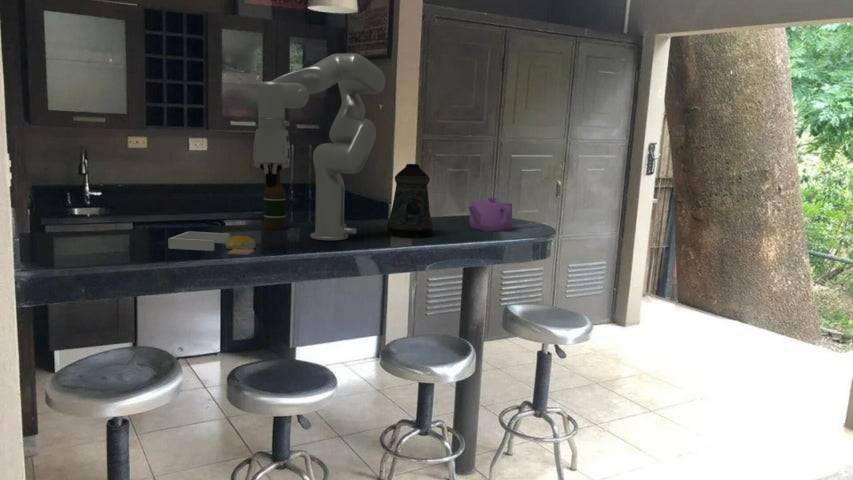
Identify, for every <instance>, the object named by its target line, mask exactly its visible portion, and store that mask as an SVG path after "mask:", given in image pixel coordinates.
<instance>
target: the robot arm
mask: <svg viewBox="0 0 853 480" xmlns="http://www.w3.org/2000/svg"><path fill="white" fill-rule="evenodd" d="M336 84H338V88H339V94H340V97H341V98H340V99H341V105H340V108H339V110H338V112H337V114H336V117H335V118H334V120H333V122H332V124H331V128H330V129H329V133H328V134H329V136H328V137H329V140H330V141H331V142H332V143H331V142H327V143H321V144H319V145H317V147H316V148H315V149H314V150H313V154H312V160H313V161H312V162H313V167H314V173H315V222H314V225H315V227H314V228H315V229H314V230H315V232H312V233H310V238H311V239H312V240H319V241H342V240H343V241H344V240H347V239H349V234H350V235H356V234H357V230H358V229H357V228H354V227H348V226H347V224H346V223H345V189H346V187H345V182H344V180H343V177H342V175H341V174H348V175H353V174H354V175H355V174H357V173H359V172H360V171H361V170H362V169H363V168H364V165H365V164H366V162H367V160H368V157H369V155H370V153H371V151H372V148H373V146H374V144H375V141H376V137H377V133H376V132H377V130H376V125H375V124H374V123H373V121H372V120H370V119H369V118H366V117H365V114H366V107H365V105H364V102H363V100H362V98H361V96H360V95H377V94H380V93H381V92H383V90H384V89H385V87H386V86H385V85H386V77H385V73H384V72H383V70H381V69H380V68H379V67H378V66H376V65H375V63H373V62H371V61H370V60H369V59H368V58H366V57H365V56H363V55H362V54H358V53H354V52H352V53H349V52H348V53H333V54H330V55H329V56H327V57H324V58H323V59H321V60H319V61H318V62H316V63H313V64H312V65H310V66H308V67H304V68H300V69H298V70H296V71H292V72H289V73H285V74H283V75H281V76H278V77H276V78H275V79H272V80H271V81H261V82H259V83H258V90H257V91H258V92H257V93H258V101H257V102H258V103H257V104H258V106H257V107H258V110H257V111H258V113H257V114H258V121H257V122H258V127H257V129H256V130H255V135H254V141H253V154H252V155H253V167H256V168H259V169H261V170H262V171H263V172H264V174H265V185H266V187H268V188H270V187H271V188H274V187H276V185H277V174H278V173H279V172H280V173H281V171H282V170H283V169H287V168H288V169H289V168H290V167H291V165H290V161H291V147H290V144H291V143H290V137H289V131H288V129H286V127H290V121H287V120H286V119H285V117H286V113H285V111H286V110H285V109H301V108H303V107H305V106H306V105H307V103H308V101H309V100H310V99H309V98H310V95H313V94H319V93H322V92H324V91H326V90H327V89H329V88H331V87H332V86H334V85H336ZM270 163H271V164H273V170H272V172H271V167H270Z"/></svg>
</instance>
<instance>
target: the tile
mask: <svg viewBox="0 0 853 480" xmlns="http://www.w3.org/2000/svg"><path fill="white" fill-rule="evenodd" d="M254 252H255V249H251V250H249V249H230V250H229V251H228V252H226V254H227V255H239V256H240V255H241V256H244V255H245V256H249V255H251V254H252V253H254Z"/></svg>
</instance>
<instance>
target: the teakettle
mask: <svg viewBox="0 0 853 480" xmlns="http://www.w3.org/2000/svg"><path fill="white" fill-rule="evenodd" d="M468 209H469V212H470V214H469V226H470V227H469V228H471V229H475V230H479V231H485V232H493V233H494V232H504V231H505V232H506V231H508V232H509V231H511V229H512V228H513V203H509V202H505V201H499V200H497V197H495V196H494V197H493V196H489V197H487V200H474V201H471V205H470V206H468Z"/></svg>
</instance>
